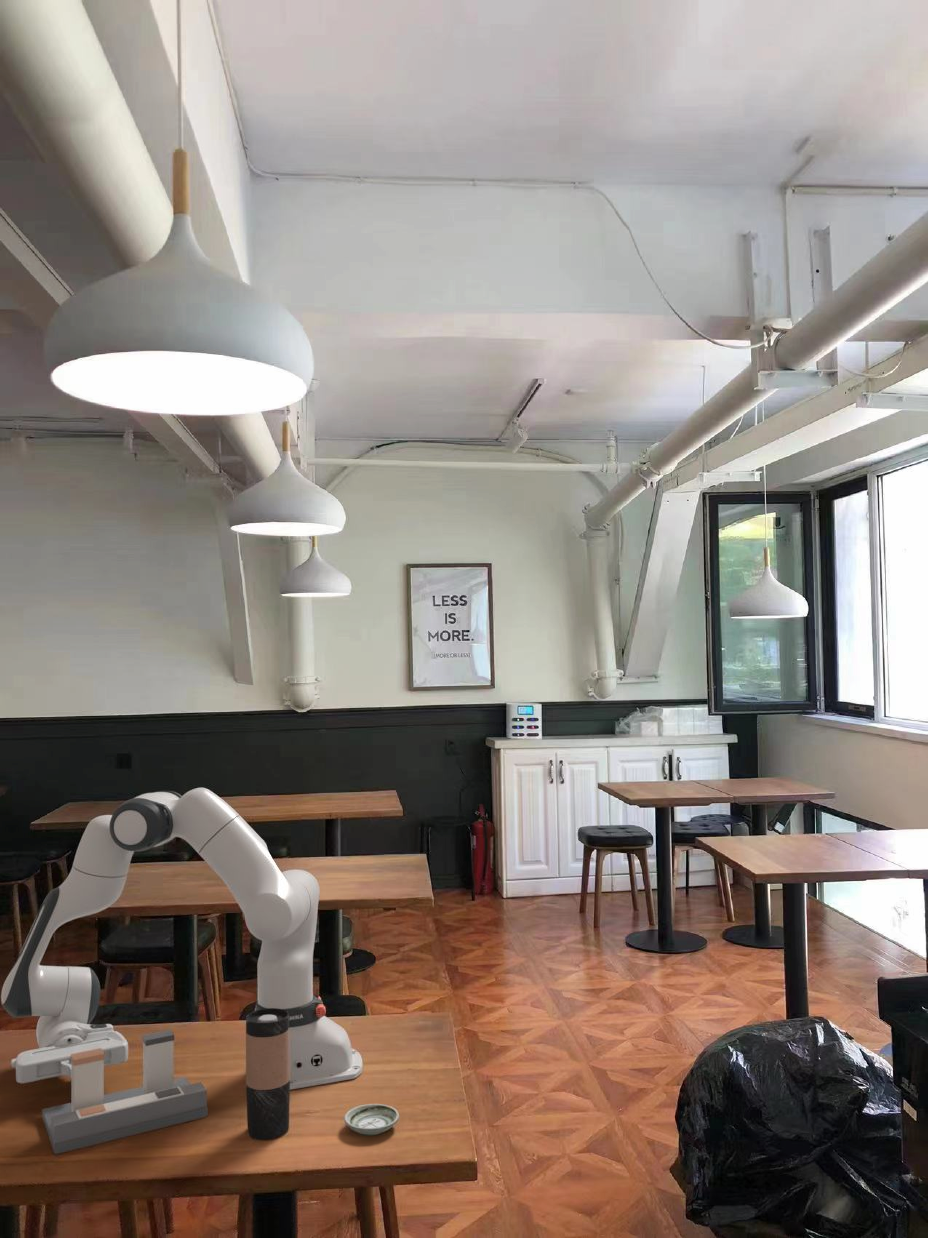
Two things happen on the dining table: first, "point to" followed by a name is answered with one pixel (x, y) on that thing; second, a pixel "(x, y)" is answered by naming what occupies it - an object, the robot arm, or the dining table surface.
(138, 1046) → the dining table surface
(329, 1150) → the dining table surface
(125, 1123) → the key console
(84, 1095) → the terracotta key
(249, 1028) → the travel mug
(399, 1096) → the dining table surface
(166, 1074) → the charcoal key
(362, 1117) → the saucer
